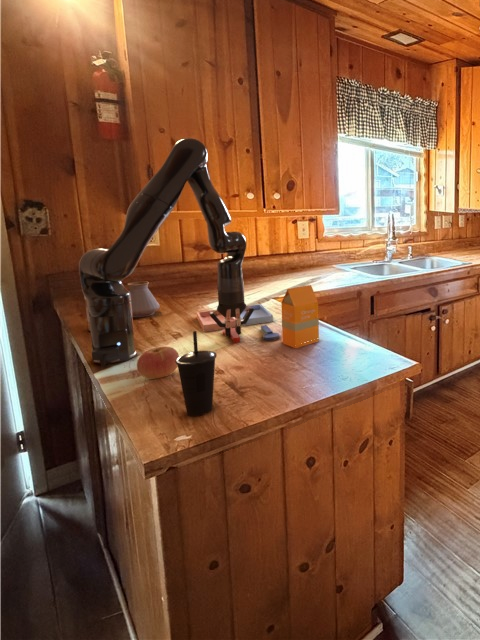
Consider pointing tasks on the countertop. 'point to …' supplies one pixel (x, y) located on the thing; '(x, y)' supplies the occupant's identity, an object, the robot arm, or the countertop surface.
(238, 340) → the red spoon
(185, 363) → the drinking cup
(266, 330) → the blue spoon
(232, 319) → the red tray
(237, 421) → the countertop surface
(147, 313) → the coffee pot
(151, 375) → the apple
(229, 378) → the countertop surface
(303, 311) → the orange juice
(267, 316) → the blue tray
